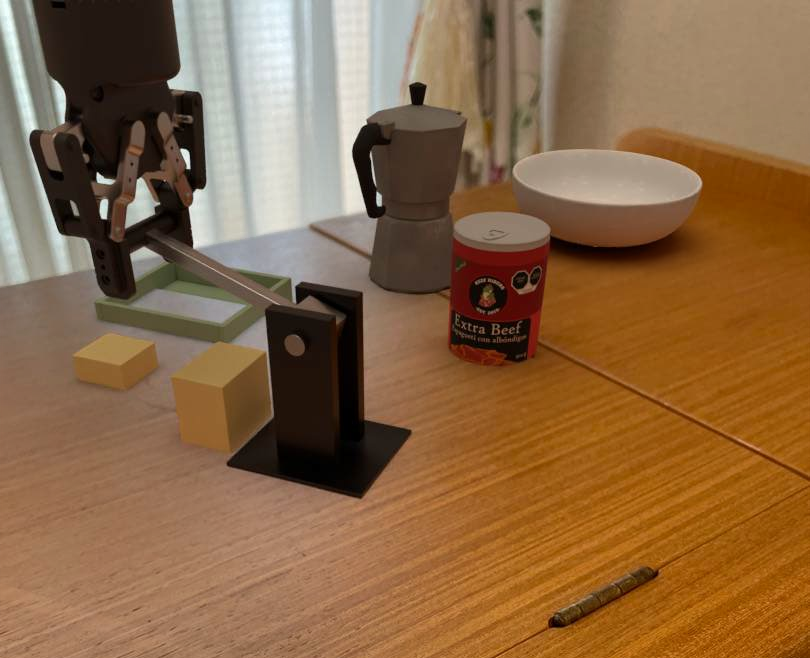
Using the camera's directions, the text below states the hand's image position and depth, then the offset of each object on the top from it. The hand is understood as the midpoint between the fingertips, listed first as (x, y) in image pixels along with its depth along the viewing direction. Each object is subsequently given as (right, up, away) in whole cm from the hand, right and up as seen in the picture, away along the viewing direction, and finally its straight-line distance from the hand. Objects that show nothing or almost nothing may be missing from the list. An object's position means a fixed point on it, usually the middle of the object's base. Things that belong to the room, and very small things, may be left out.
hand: (150, 277), depth 58 cm
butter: (+4, -10, +6) cm, 12 cm away
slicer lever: (+6, -2, -1) cm, 6 cm away
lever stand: (+11, -12, +3) cm, 17 cm away
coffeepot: (+17, +9, +31) cm, 36 cm away
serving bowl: (+39, +18, +43) cm, 61 cm away
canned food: (+25, -2, +17) cm, 30 cm away
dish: (-2, +3, +23) cm, 23 cm away
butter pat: (-6, -5, +12) cm, 14 cm away
